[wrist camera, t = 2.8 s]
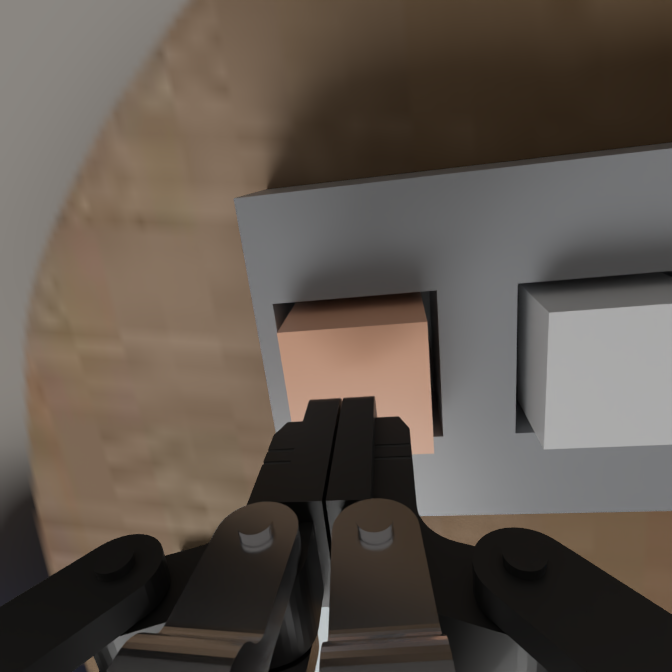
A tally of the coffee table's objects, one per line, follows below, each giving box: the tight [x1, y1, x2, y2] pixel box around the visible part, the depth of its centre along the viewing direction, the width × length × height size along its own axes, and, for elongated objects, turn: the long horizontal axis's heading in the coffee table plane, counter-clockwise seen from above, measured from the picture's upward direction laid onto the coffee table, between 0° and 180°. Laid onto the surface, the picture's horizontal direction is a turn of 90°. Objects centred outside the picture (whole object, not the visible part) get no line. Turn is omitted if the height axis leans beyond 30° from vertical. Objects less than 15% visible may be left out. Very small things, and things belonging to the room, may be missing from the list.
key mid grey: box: [517, 272, 672, 449], centre depth 14 cm, size 4×4×3 cm
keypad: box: [234, 142, 672, 516], centre depth 16 cm, size 20×11×4 cm, turn 97°
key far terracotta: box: [277, 292, 434, 454], centre depth 15 cm, size 4×4×3 cm
